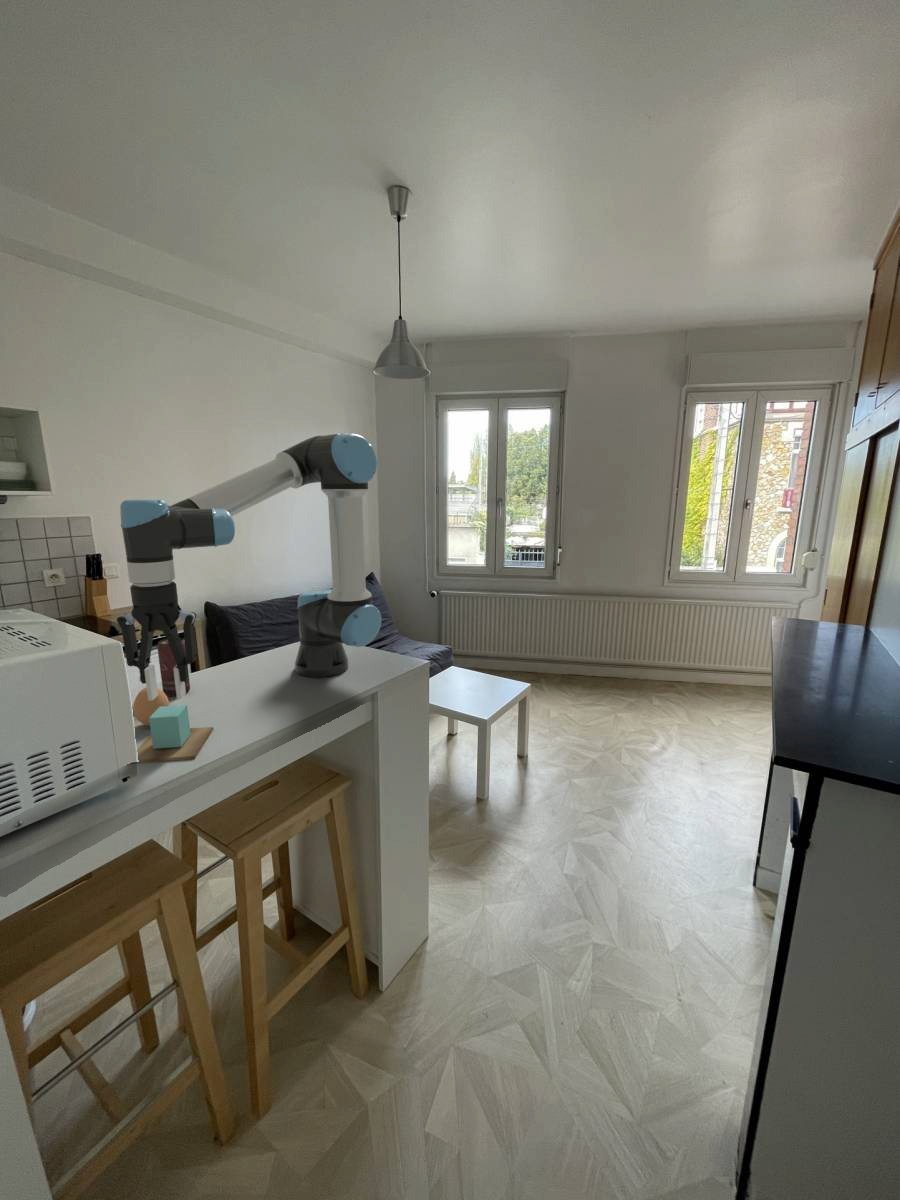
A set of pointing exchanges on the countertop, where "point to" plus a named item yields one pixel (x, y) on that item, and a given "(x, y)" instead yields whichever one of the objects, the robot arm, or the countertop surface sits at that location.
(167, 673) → the can
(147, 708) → the egg
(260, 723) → the countertop surface
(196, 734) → the base board
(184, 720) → the turquoise block
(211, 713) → the countertop surface
